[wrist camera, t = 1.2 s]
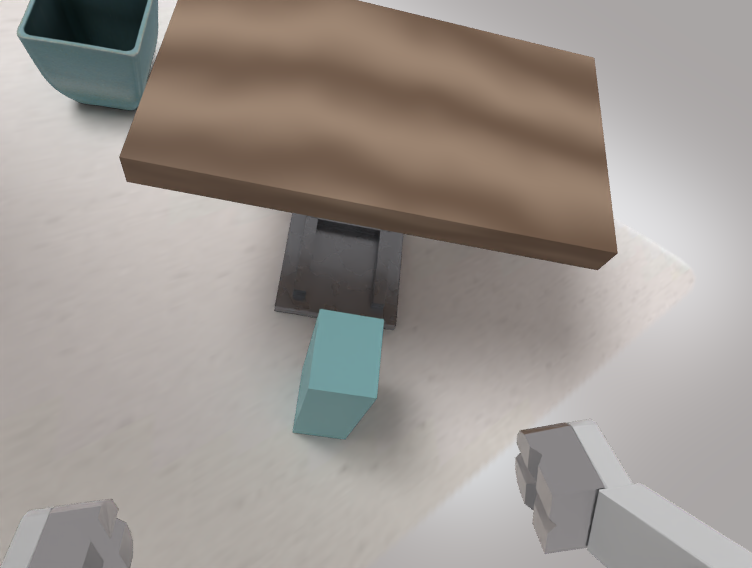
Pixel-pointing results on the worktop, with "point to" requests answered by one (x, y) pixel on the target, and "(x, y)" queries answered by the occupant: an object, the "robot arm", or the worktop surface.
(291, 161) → the overhang shelf
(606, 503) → the robot arm
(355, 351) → the teal box
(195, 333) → the worktop surface
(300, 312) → the seat cradle
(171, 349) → the worktop surface
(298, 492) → the worktop surface
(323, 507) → the worktop surface
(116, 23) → the flower pot
